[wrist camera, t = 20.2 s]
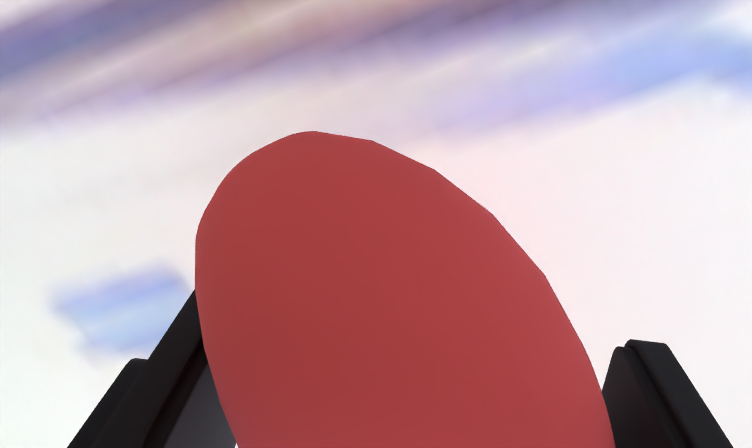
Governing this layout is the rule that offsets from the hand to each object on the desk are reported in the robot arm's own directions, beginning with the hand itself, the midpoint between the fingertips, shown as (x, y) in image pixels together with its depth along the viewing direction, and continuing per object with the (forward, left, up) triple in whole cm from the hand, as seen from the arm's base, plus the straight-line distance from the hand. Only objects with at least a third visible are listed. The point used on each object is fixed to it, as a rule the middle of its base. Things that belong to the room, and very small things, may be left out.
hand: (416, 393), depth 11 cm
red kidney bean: (0, 0, -1) cm, 1 cm away
